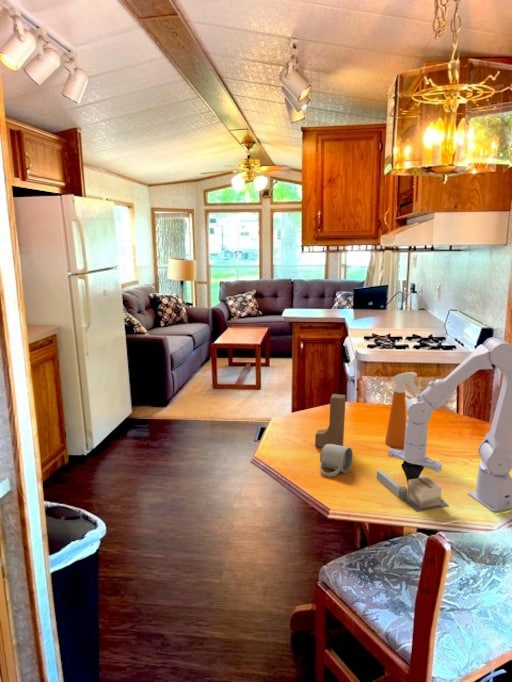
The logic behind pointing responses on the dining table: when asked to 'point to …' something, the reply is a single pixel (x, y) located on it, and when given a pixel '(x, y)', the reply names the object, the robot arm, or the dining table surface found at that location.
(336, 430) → the wooden block
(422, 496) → the block
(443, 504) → the mat
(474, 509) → the dining table surface
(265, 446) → the dining table surface
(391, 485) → the chute
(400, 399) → the spray bottle
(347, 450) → the ceramic mug
